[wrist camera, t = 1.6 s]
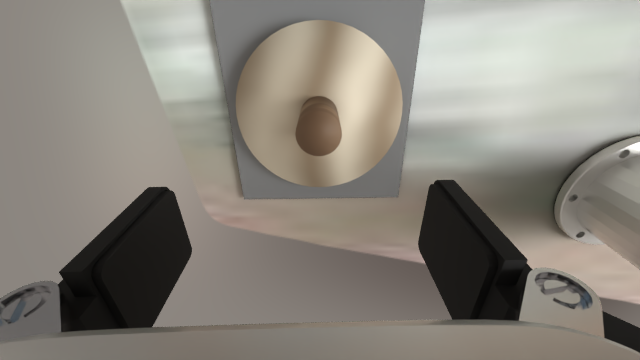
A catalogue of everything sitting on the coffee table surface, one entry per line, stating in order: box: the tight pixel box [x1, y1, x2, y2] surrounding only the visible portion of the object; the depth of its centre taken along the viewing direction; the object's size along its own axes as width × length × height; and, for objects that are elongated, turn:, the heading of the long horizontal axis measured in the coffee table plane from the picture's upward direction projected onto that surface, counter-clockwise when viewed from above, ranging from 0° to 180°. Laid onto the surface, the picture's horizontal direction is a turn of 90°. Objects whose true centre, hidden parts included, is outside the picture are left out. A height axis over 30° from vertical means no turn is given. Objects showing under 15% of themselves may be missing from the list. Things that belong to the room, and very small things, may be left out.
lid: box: [236, 20, 403, 187], centre depth 22 cm, size 14×14×6 cm
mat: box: [209, 0, 425, 199], centre depth 25 cm, size 16×18×1 cm
